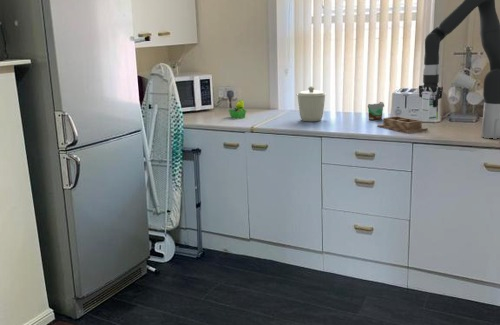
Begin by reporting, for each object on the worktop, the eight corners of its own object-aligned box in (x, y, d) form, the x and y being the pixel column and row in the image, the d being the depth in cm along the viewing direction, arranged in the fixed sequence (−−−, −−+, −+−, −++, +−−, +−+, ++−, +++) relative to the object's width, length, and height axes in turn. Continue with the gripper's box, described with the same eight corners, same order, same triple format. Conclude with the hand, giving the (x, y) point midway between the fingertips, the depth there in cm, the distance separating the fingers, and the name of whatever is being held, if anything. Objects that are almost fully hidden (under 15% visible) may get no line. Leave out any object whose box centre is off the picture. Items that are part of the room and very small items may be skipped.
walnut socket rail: (427, 130, 274) (428, 121, 273) (408, 133, 268) (408, 124, 266) (396, 123, 295) (396, 115, 293) (377, 126, 288) (377, 117, 287)
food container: (375, 121, 304) (376, 105, 301) (367, 120, 308) (367, 104, 306) (388, 118, 311) (388, 102, 309) (379, 117, 316) (380, 101, 313)
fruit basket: (228, 117, 338) (227, 100, 335) (238, 115, 343) (238, 99, 340) (237, 119, 329) (237, 102, 326) (248, 117, 334) (248, 100, 331)
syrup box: (428, 120, 259) (429, 92, 255) (421, 118, 264) (422, 91, 261) (437, 119, 260) (439, 91, 257) (430, 117, 266) (431, 90, 262)
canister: (305, 124, 304) (305, 88, 298) (291, 119, 320) (291, 86, 315) (331, 121, 310) (331, 86, 305) (317, 117, 326) (316, 84, 321)
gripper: (447, 73, 252) (446, 107, 256) (425, 72, 265) (424, 104, 269) (436, 74, 249) (435, 108, 253) (415, 73, 261) (414, 105, 265)
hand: (429, 106), depth 261 cm, fingers closed on syrup box, 6 cm apart
